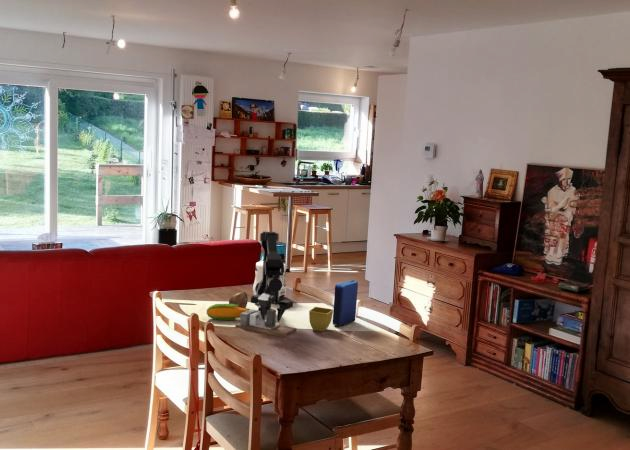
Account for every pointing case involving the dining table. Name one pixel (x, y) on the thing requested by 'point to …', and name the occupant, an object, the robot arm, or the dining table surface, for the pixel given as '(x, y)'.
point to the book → (345, 303)
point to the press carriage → (260, 323)
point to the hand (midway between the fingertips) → (270, 320)
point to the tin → (239, 300)
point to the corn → (225, 311)
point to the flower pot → (320, 318)
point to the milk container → (259, 277)
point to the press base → (277, 331)
